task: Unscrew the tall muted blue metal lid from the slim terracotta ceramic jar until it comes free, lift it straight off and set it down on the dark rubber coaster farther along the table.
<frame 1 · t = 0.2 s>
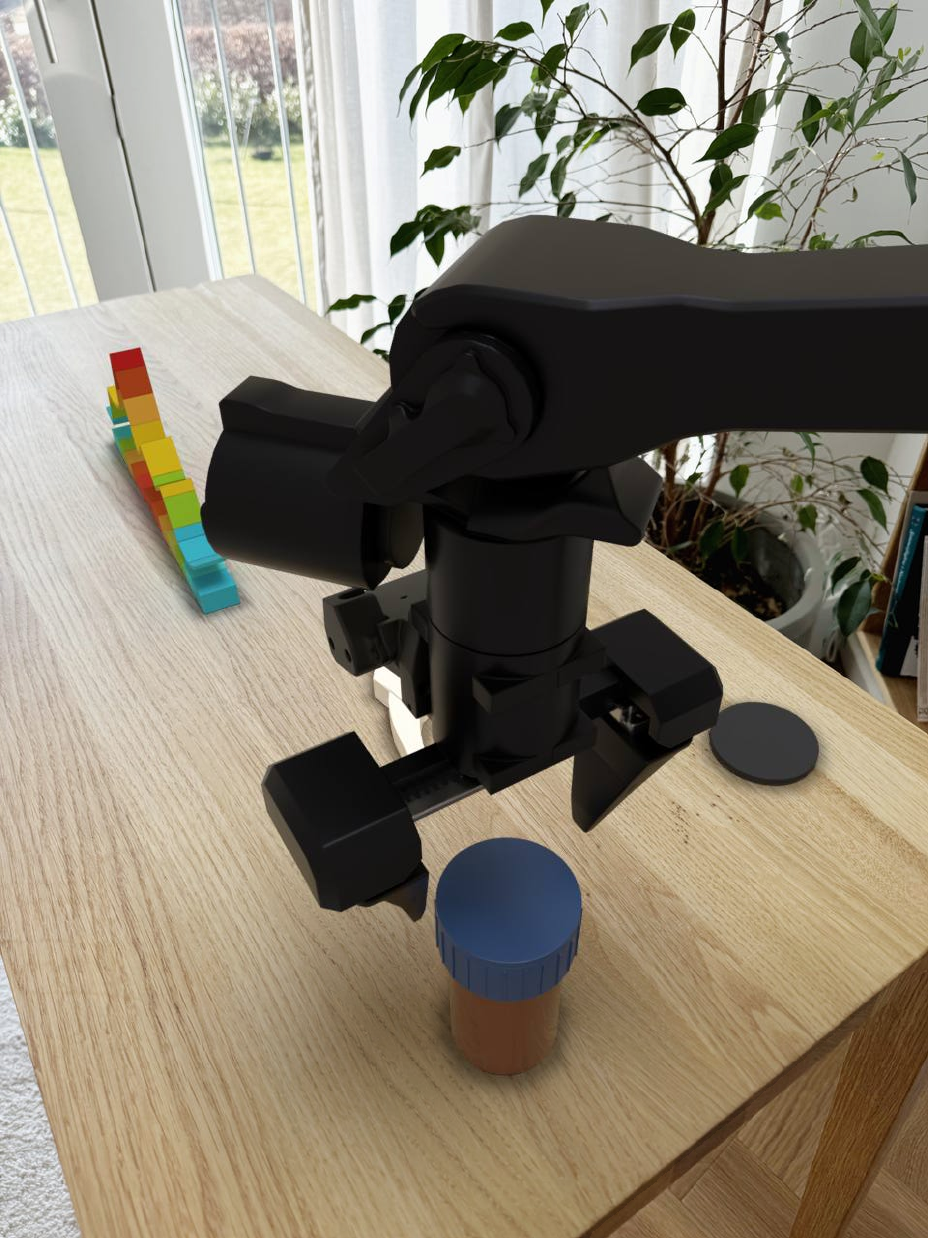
hand: (500, 867, 45), 12 cm above the table, tool pointing down, fingers open, 9 cm apart
jar: (503, 1022, 51), on the table
chart: (173, 517, 89), on the table
pill bottle: (501, 572, 82), on the table
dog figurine: (395, 694, 71), on the table
lid: (508, 901, 44), point 11 cm above the table, screwed on, not yet turned
coaster: (762, 744, 66), on the table
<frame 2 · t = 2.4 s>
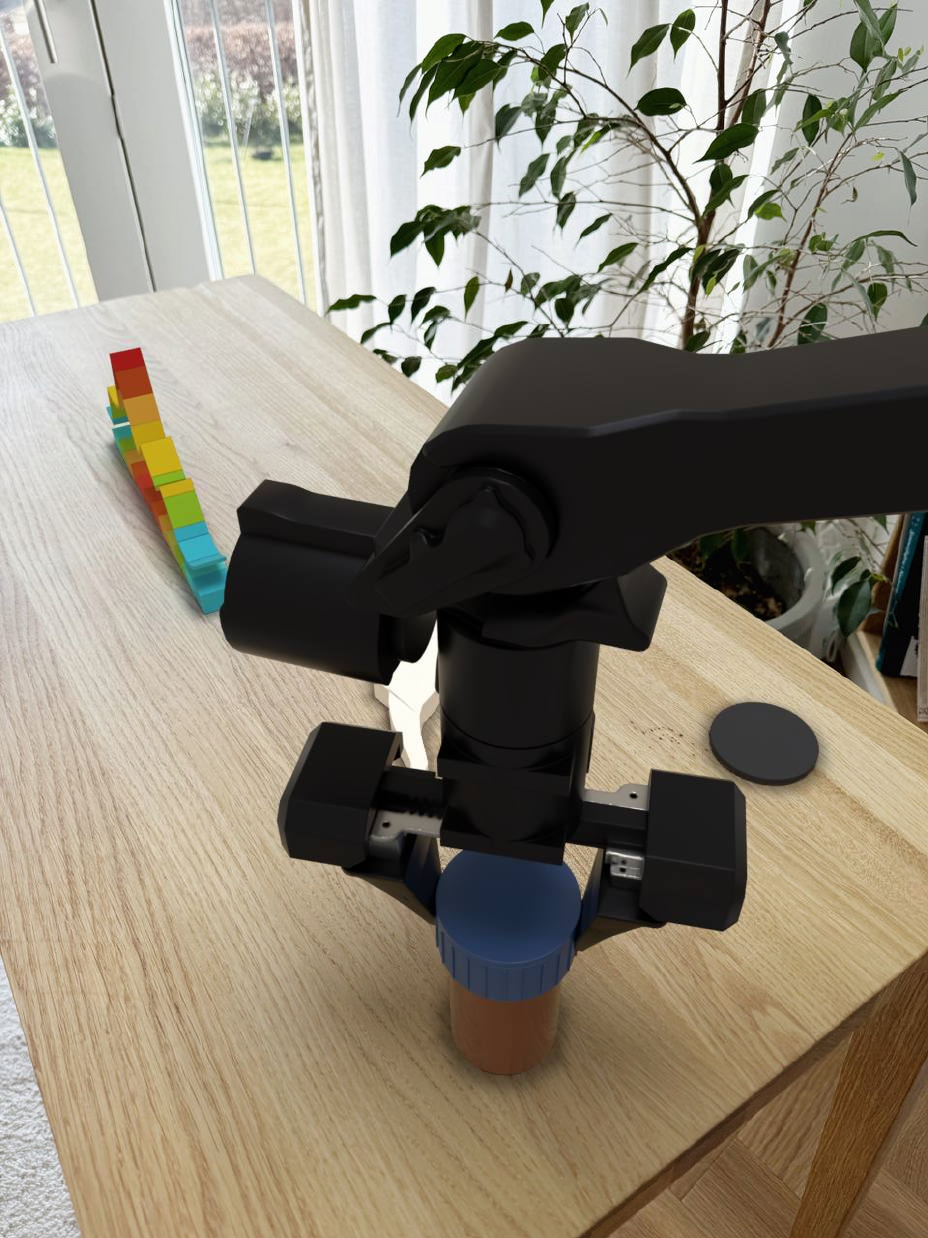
hand: (507, 929, 46), 9 cm above the table, tool pointing down, fingers closed on lid, 6 cm apart
lid: (508, 901, 44), point 11 cm above the table, screwed on, not yet turned, touching gripper
everything else where it was.
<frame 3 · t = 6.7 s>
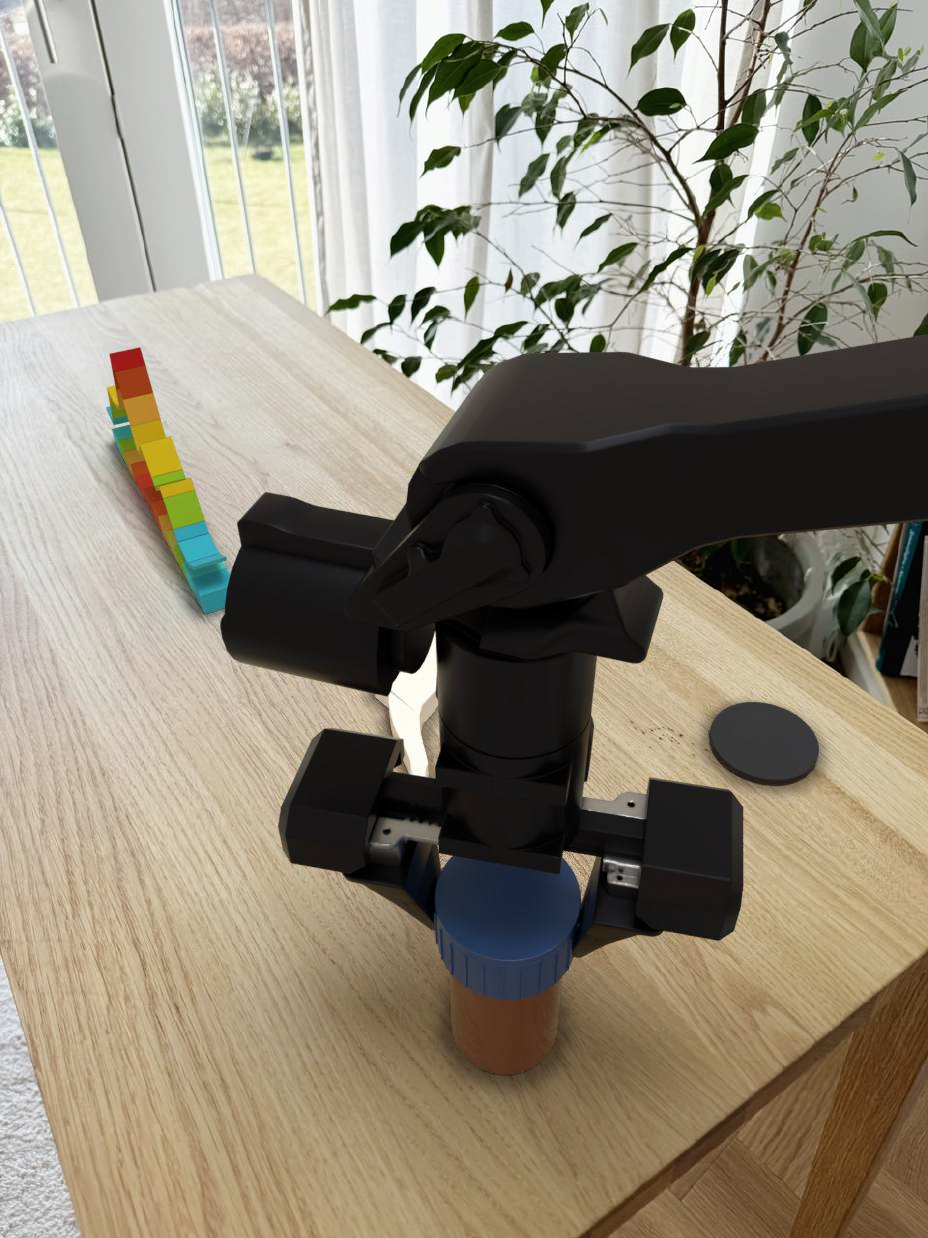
hand: (507, 935, 46), 8 cm above the table, tool pointing down, fingers closed on lid, 6 cm apart
lid: (507, 899, 44), point 11 cm above the table, turned 59° so far, risen 0.2 cm, still on its thread, touching gripper
everything else where it was.
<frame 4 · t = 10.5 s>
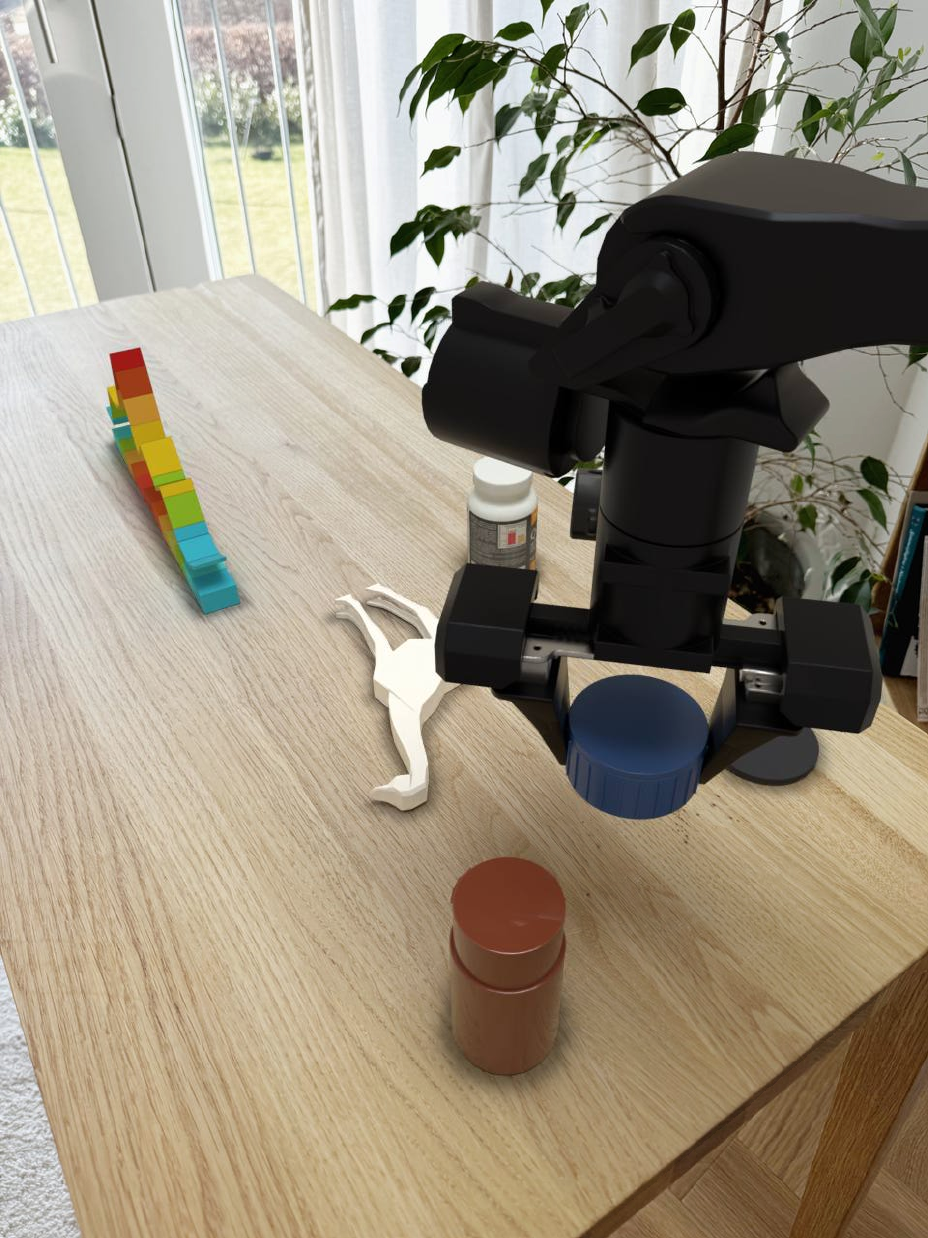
hand: (632, 768, 49), 12 cm above the table, tool pointing down, fingers closed on lid, 6 cm apart
lid: (637, 727, 47), point 15 cm above the table, off its thread, touching gripper
everything else where it was.
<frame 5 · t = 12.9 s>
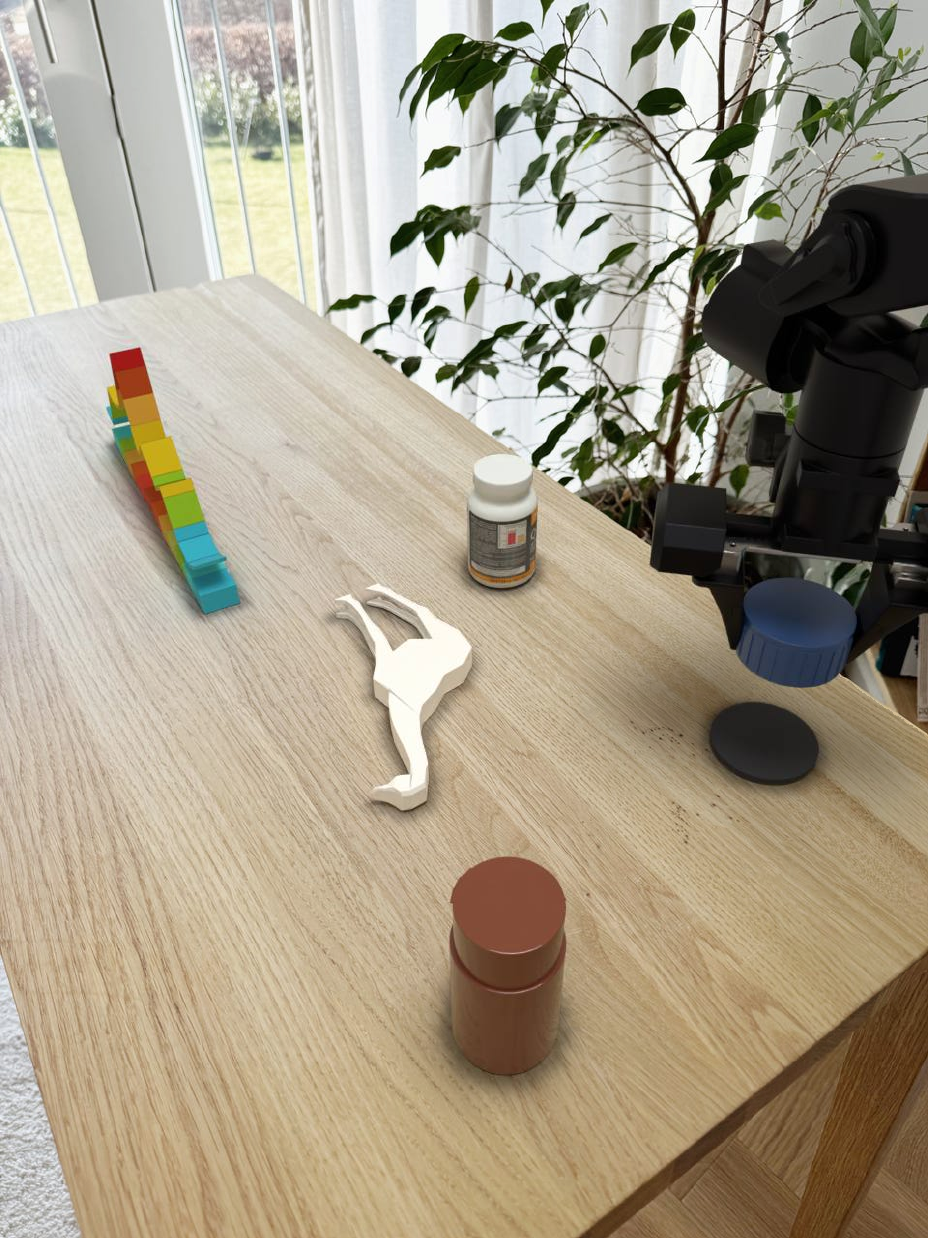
hand: (788, 652, 61), 9 cm above the table, tool pointing down, fingers closed on lid, 6 cm apart
lid: (798, 615, 59), point 12 cm above the table, off its thread, touching gripper
everything else where it was.
when the fingers open (2 cm above the table, at t = 14.7 s): lid drops 2 cm, resting on coaster.
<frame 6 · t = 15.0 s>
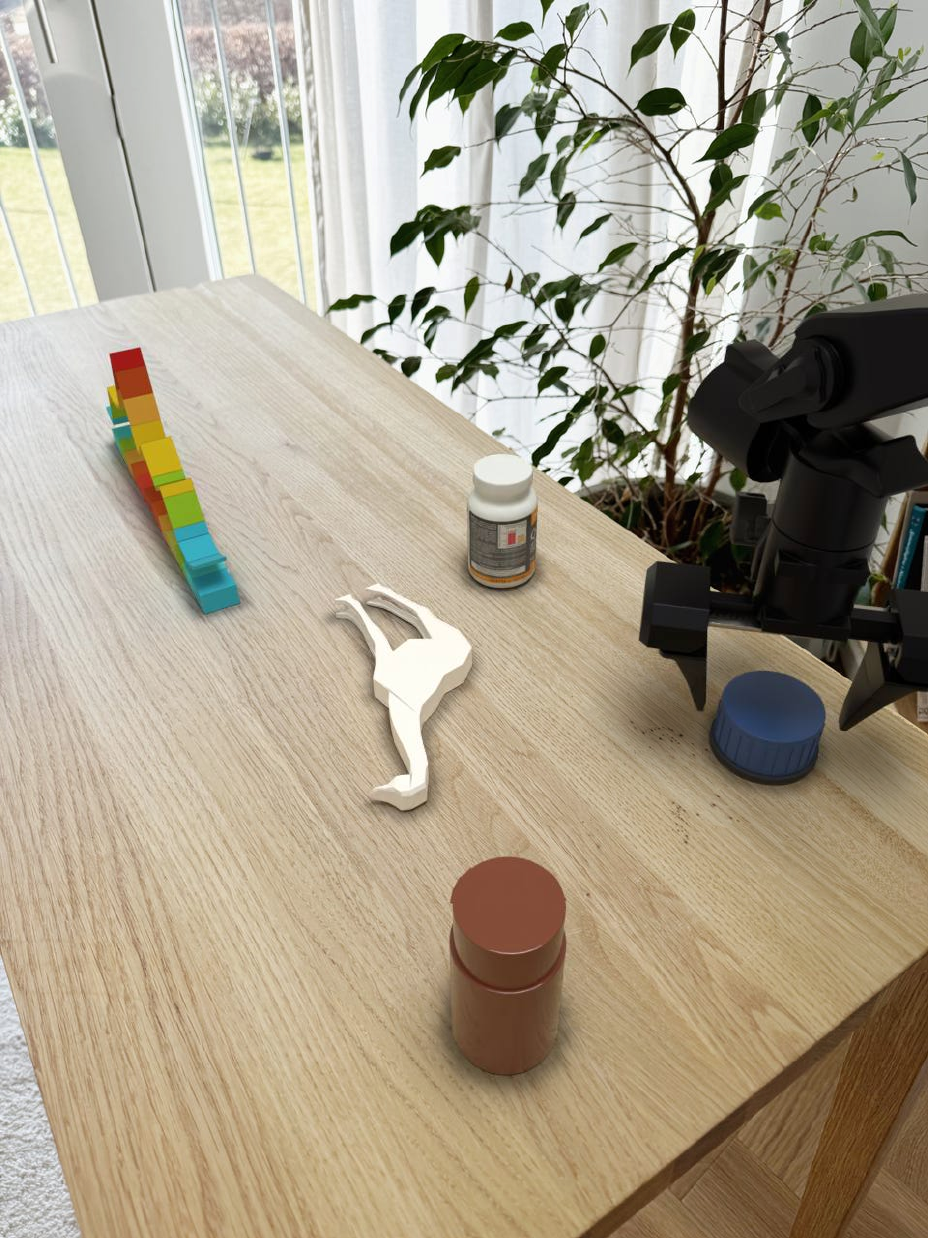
hand: (770, 716, 65), 3 cm above the table, tool pointing down, fingers open, 9 cm apart
lid: (772, 709, 64), point 3 cm above the table, off its thread, touching coaster
everything else where it was.
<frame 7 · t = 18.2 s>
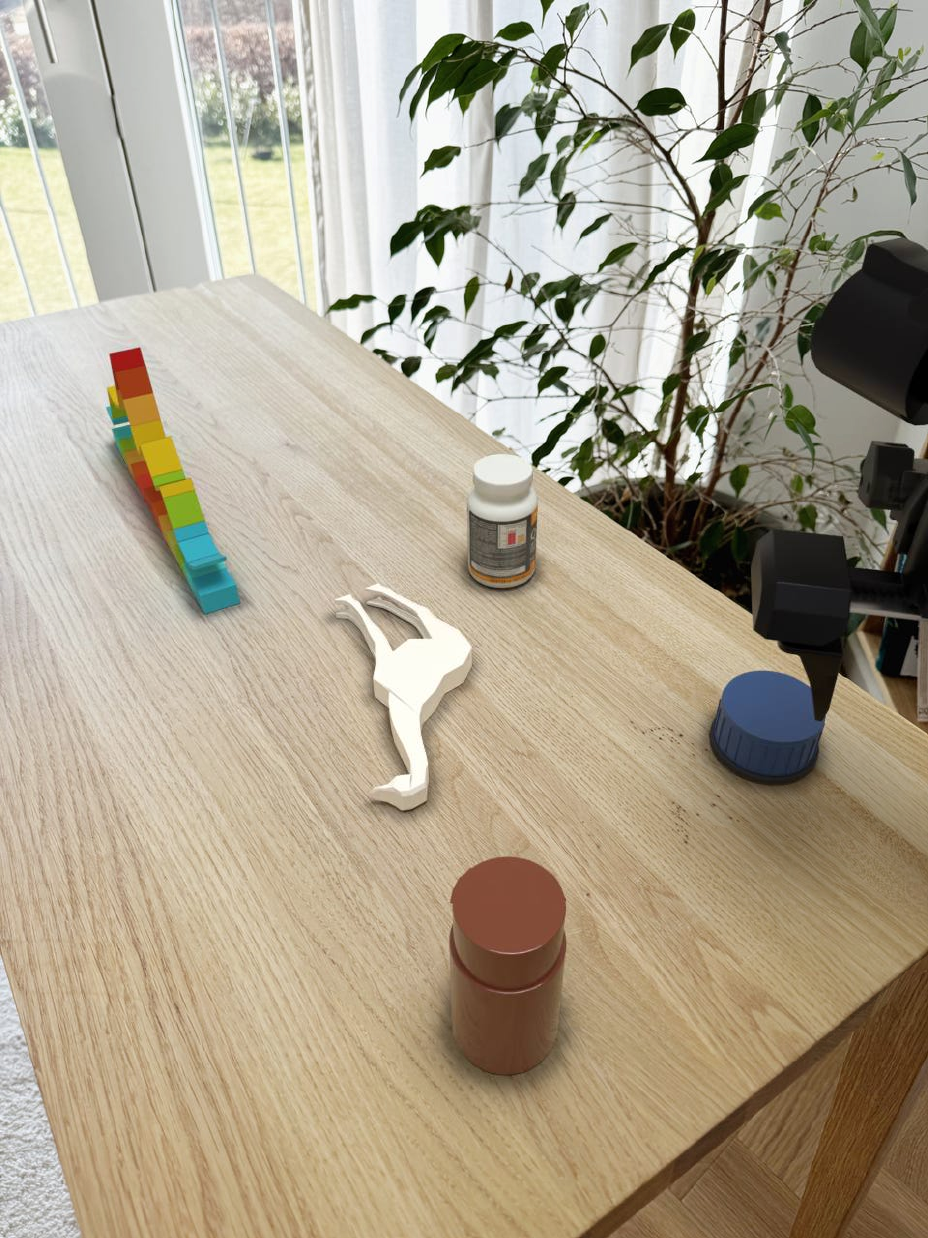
hand: (907, 727, 51), 12 cm above the table, tool pointing down, fingers open, 9 cm apart
nothing on the table moved.
at the end: lid came off its thread; lid inside the target area on the coaster (0.0 cm from its centre), point 3.5 cm above the coaster's base; the gripper is holding nothing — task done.
